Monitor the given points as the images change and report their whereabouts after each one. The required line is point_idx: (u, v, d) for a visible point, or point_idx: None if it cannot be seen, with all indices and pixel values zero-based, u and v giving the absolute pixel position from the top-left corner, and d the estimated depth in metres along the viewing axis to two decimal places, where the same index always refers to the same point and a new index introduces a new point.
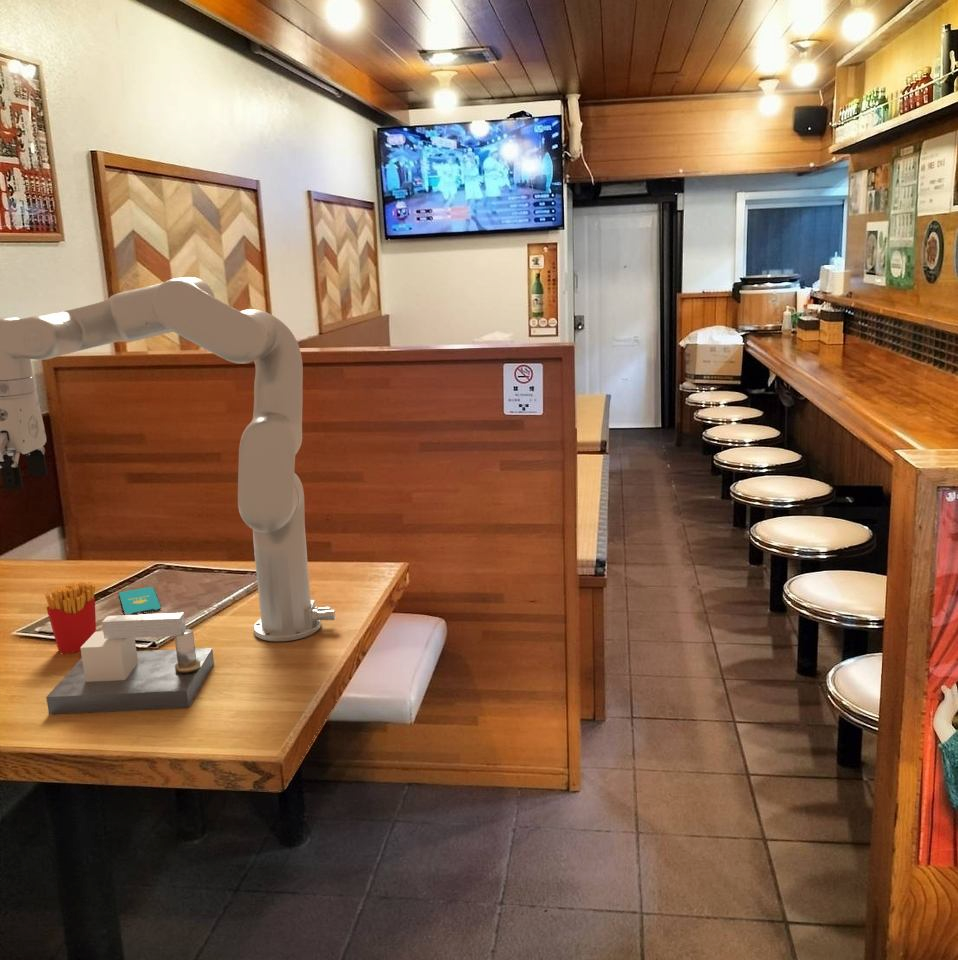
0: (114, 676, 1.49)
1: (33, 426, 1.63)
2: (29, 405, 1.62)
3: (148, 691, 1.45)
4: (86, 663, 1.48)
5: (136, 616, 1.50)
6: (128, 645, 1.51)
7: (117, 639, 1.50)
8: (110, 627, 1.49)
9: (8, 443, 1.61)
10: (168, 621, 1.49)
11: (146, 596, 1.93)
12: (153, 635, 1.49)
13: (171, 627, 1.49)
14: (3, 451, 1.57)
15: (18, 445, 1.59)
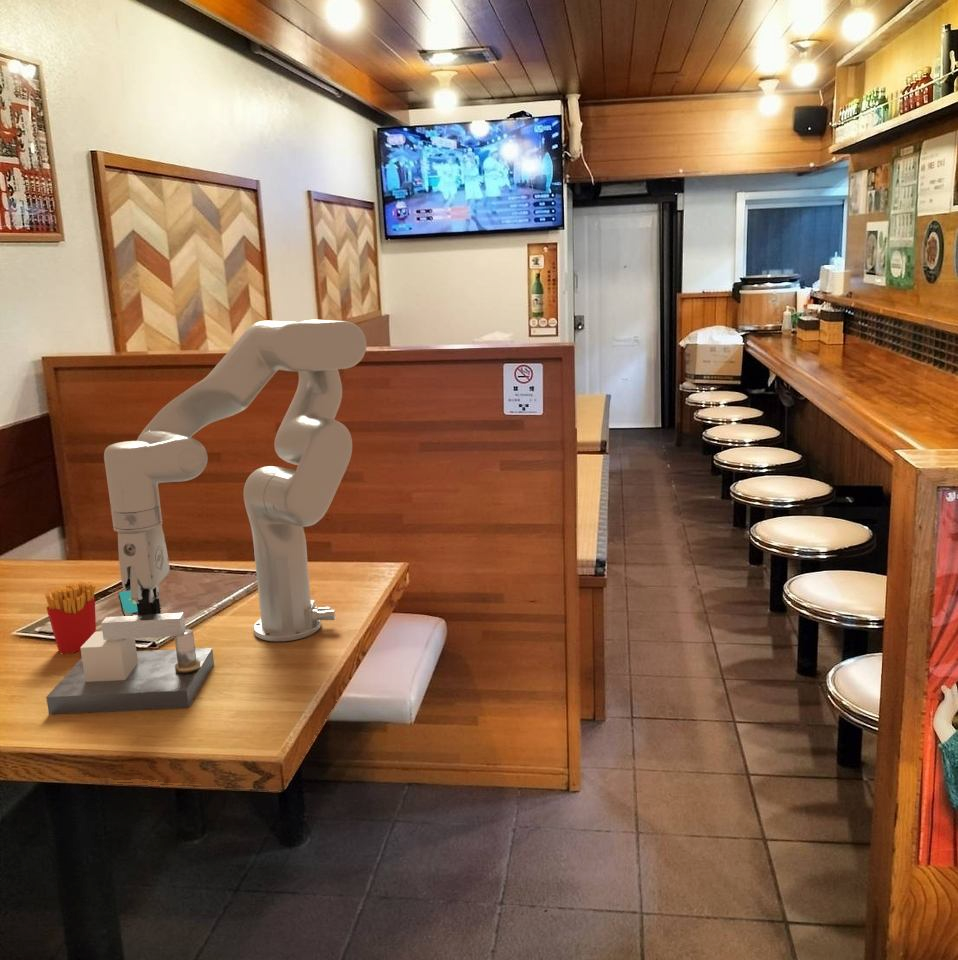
0: (114, 676, 1.49)
1: (159, 557, 1.50)
2: (156, 535, 1.49)
3: (148, 691, 1.45)
4: (86, 663, 1.48)
5: (136, 617, 1.50)
6: (128, 645, 1.51)
7: (117, 639, 1.50)
8: (109, 628, 1.48)
9: None
10: (168, 621, 1.49)
11: None
12: (153, 635, 1.49)
13: (171, 627, 1.49)
14: (141, 594, 1.48)
15: (146, 582, 1.46)
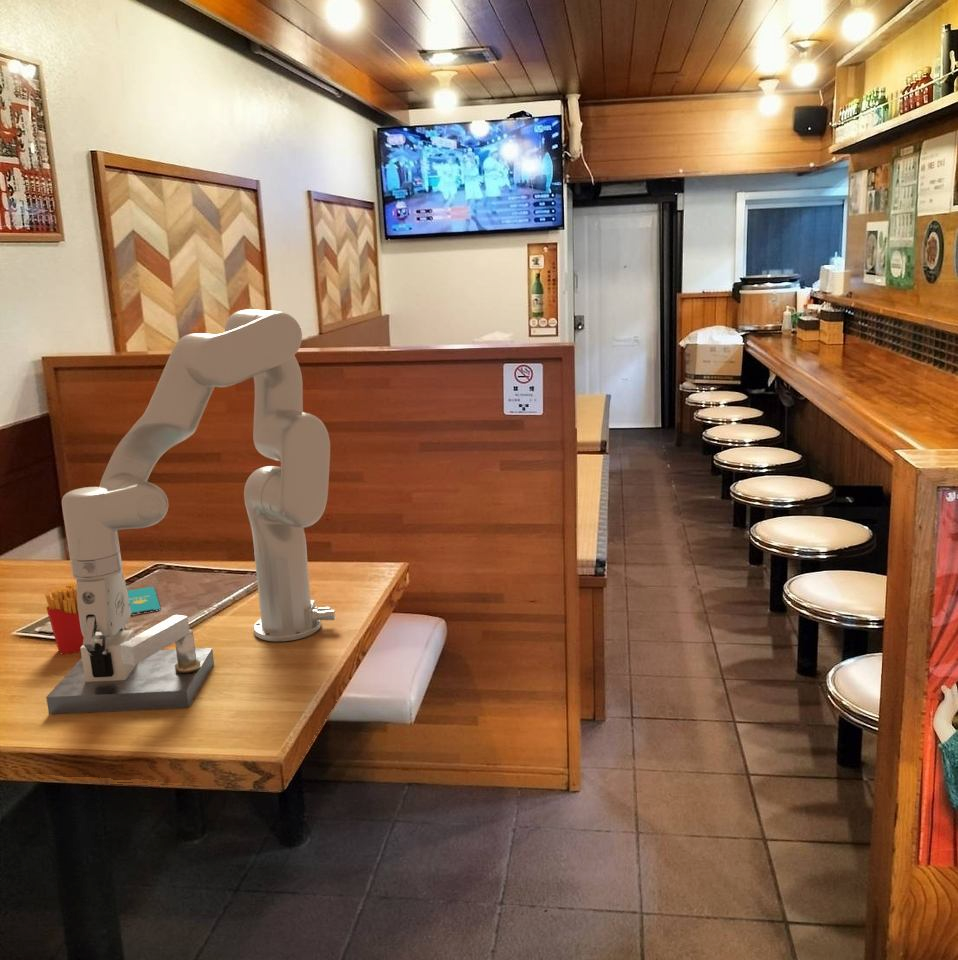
0: (114, 676, 1.49)
1: (119, 603, 1.49)
2: (116, 581, 1.48)
3: (148, 691, 1.45)
4: (86, 663, 1.48)
5: (149, 632, 1.43)
6: None
7: (117, 639, 1.50)
8: (138, 650, 1.40)
9: None
10: (180, 622, 1.48)
11: (146, 596, 1.93)
12: (170, 643, 1.46)
13: (182, 628, 1.49)
14: (94, 642, 1.44)
15: (106, 629, 1.45)
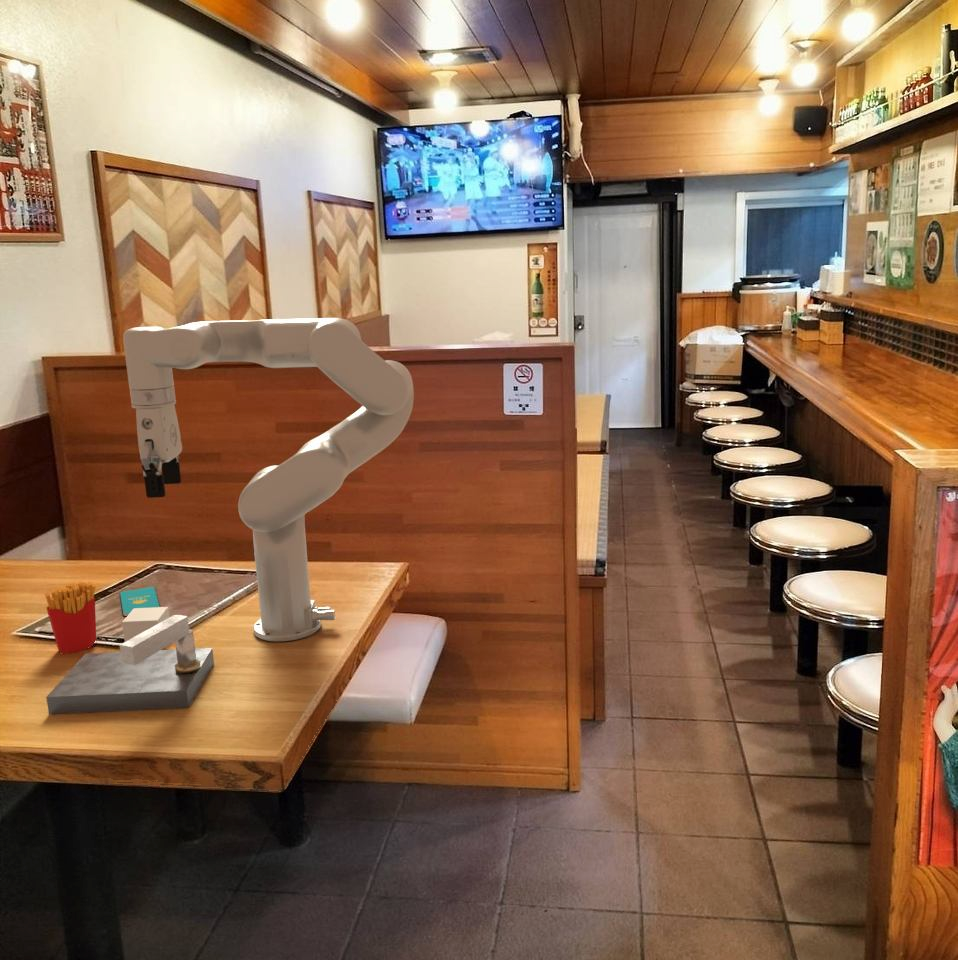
0: None
1: (173, 434, 1.65)
2: (170, 413, 1.64)
3: (148, 691, 1.45)
4: (127, 635, 1.66)
5: (149, 632, 1.43)
6: None
7: (154, 615, 1.68)
8: (138, 650, 1.40)
9: None
10: (180, 622, 1.48)
11: (146, 596, 1.93)
12: (170, 643, 1.46)
13: (182, 628, 1.49)
14: (149, 460, 1.58)
15: (162, 453, 1.60)
